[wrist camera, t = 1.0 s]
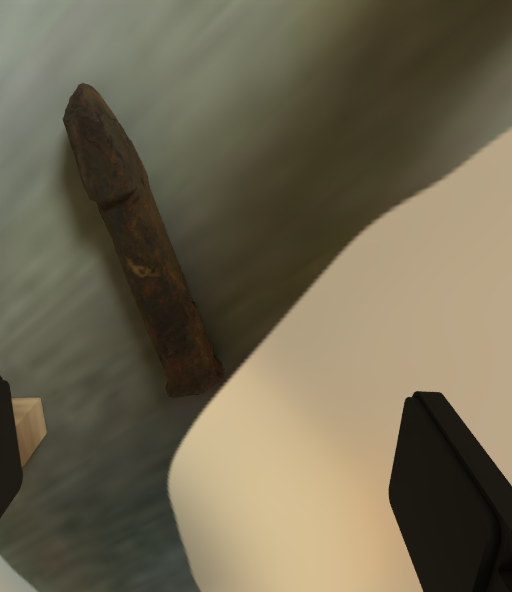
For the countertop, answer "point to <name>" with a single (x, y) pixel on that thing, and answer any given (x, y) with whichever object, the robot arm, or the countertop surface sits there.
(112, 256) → the countertop surface
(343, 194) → the countertop surface
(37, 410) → the wooden u-shaped stand
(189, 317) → the hand tool
